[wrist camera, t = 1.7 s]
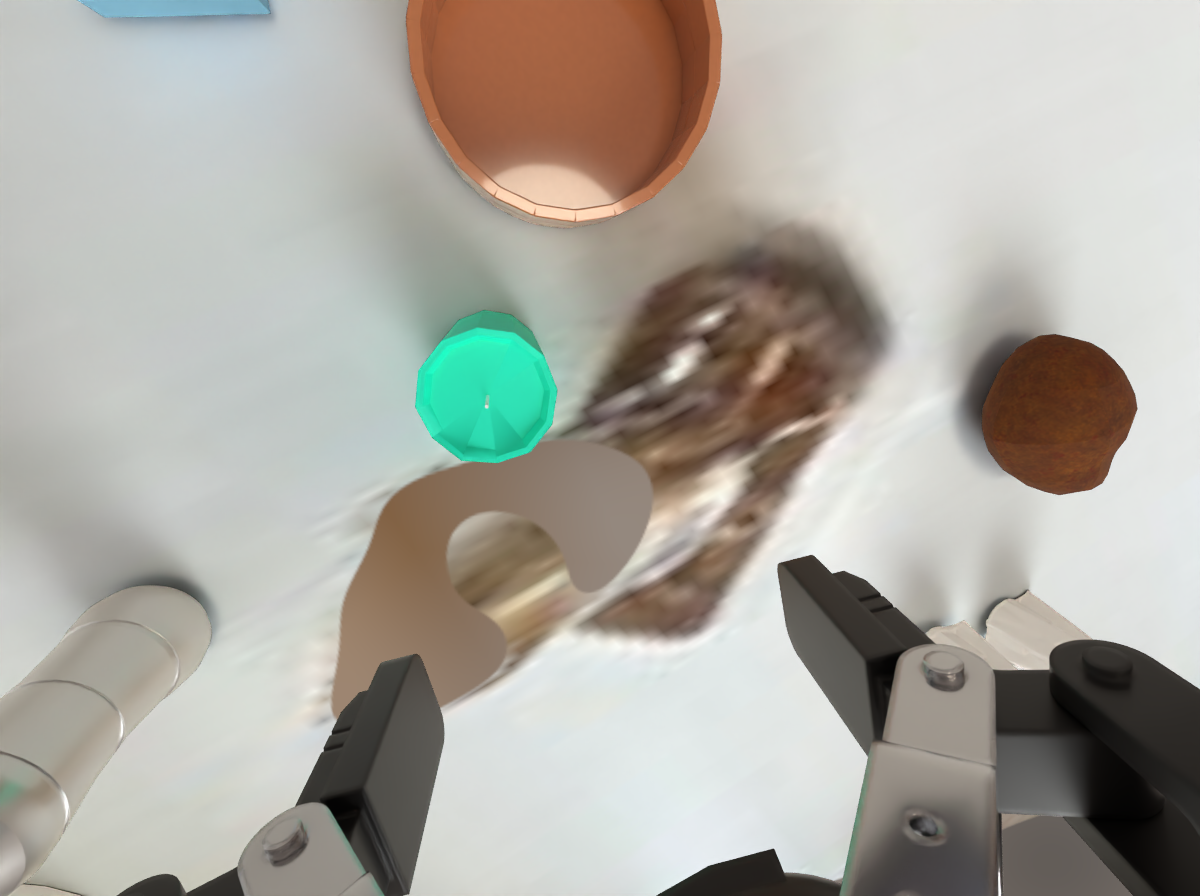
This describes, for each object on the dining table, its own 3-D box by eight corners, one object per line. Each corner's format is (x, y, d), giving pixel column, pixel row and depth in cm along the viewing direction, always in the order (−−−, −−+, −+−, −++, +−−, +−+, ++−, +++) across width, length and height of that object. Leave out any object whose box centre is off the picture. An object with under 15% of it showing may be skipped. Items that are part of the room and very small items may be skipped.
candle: (431, 315, 33) (394, 338, 22) (535, 305, 34) (553, 323, 23) (448, 416, 35) (423, 486, 24) (547, 404, 36) (568, 467, 25)
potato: (967, 493, 43) (1059, 537, 36) (941, 359, 39) (1037, 378, 32) (1069, 446, 43) (1181, 481, 36) (1052, 309, 40) (1172, 317, 33)
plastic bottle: (235, 655, 37) (-36, 1049, 18) (118, 669, 36) (-295, 1100, 17) (212, 565, 35) (-117, 902, 17) (88, 577, 34) (-412, 950, 16)
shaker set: (895, 671, 47) (1009, 786, 36) (893, 628, 45) (1011, 735, 35) (1029, 631, 48) (1177, 731, 37) (1031, 587, 47) (1185, 679, 36)
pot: (579, 281, 34) (592, 283, 29) (363, 94, 30) (338, 61, 25) (740, 77, 32) (782, 44, 28) (536, -155, 28) (543, -240, 23)
